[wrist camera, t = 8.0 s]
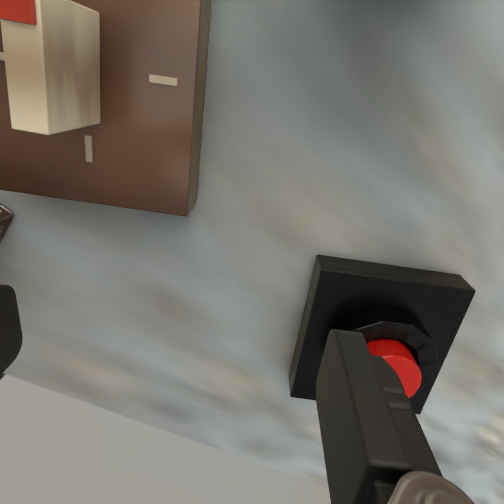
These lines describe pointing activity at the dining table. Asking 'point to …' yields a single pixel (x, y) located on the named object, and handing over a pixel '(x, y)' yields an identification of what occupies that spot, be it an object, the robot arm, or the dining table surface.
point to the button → (398, 362)
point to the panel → (125, 115)
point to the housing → (379, 316)
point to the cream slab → (51, 64)
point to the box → (4, 219)
